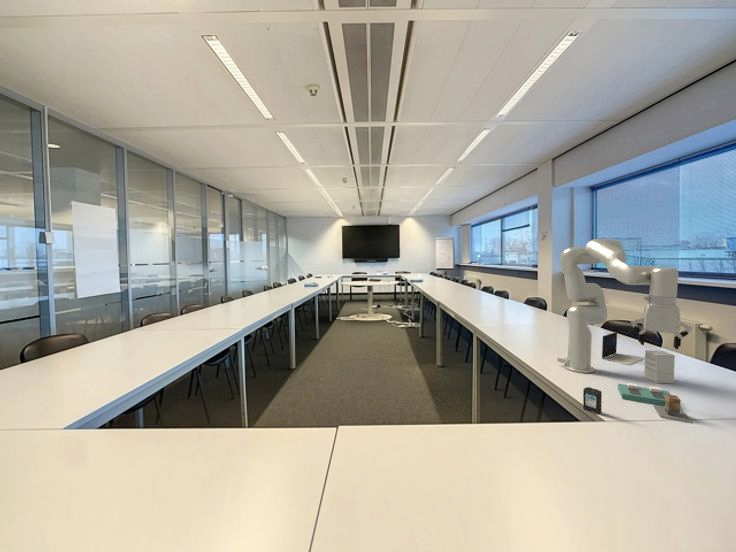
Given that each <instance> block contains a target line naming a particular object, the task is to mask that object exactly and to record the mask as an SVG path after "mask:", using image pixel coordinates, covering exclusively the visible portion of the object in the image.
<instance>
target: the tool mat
mask: <svg viewBox="0 0 736 552" xmlns="http://www.w3.org/2000/svg"><path fill="white" fill-rule="evenodd" d="M652 405H653V408H654V410H655V411H656V412H657V414H658V416H659V418H662V419H667V420H672V419H673V421H678V420H679V422H683V421H685V423H689V422H691V423H690V424H693V421H692V420H691V419H690V418H689V416H688V415H687V414H686V413H685V411H684V410H683V409H680V417H676V416H670V415H668V414H667V413H666V411H665V406H662V405H656V404H652Z"/></svg>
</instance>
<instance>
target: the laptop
mask: <svg viewBox="0 0 736 552" xmlns="http://www.w3.org/2000/svg"><path fill="white" fill-rule="evenodd" d="M617 344H618V332H617V331H615V332H612V333H608V334H605V335H603V336H602V343H601V345H602V346H601V359H602V360H604V359H605V360H604V361H609V360H610V362H612V361H613V362H615V363H618V364H622V365H626V366H627V365H628V366H631V365H633V364H634V363H637V362H639V361H641V360H643V358H641V357H637V356H631V355H627V354H623V353H617ZM610 355H611V356H610ZM625 355H626V356H625Z"/></svg>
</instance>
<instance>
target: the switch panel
mask: <svg viewBox="0 0 736 552" xmlns="http://www.w3.org/2000/svg"><path fill="white" fill-rule="evenodd" d="M617 390H618V392H619V395H620V398H621V399H622V400H627V401H633V402H639V403H645V404H652V405H657V406H663V407H665V399H666V394H669V395H672V394H671V393H670V391H669V390H664V389H663V390H662V389H661V393H658V392H652V391H650V387H643V386H638V389H633V388H628V384H624V383H623V384H622V383H617Z"/></svg>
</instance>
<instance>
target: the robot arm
mask: <svg viewBox="0 0 736 552" xmlns="http://www.w3.org/2000/svg"><path fill="white" fill-rule="evenodd" d="M626 260H627V253H626V251H624V250H623V244H622V243H621V242H620V241H619V240H617V239H615V238H594V239H591V240H589V241H587V243H586V245H585V246H575V247H568V248H566V249H564V250H563V251H562V252H561V254H560V257H559V265H560V268H561V271H562V273H563V277H564V283H565V291H566V295H567V299H568V300H569V301H570V302H572V303H587V304H577V305H575V304H574V305H572V306H570V307H569V308H568V309H567V311H566V319H567V325H568V348H567V357H564V358H561V357H557V359H556V361H557V362H560V363H559V364H564V365H563V367H564V368H565V369H566V370H568V371H571V372H575V373H582V374H590V373H594V372H595V368H594V366H591V365H592V359H591V358H592V335H593V334H592V332H591V330H590V328H589V326H590V325H601V324H604V323H606V321H607V319H608V309H607V305H606V299H605V293H604V290H603V288H602V287H601V286H600V285H599V284H597V283H594V282H586V277H585V274H584V272H583V270H582V269H581V267H580V266H579V265H598V264H603V265H605V266H606V268H607V272H608V273H609V276H611V277H612V278H614V279H616V280H617V281H618V282H620V283H622V284H624V285H627V286H649V291H648V292H649V294H648V296H644V297H643V300H644V301H647V302H646V304H645V306H644V310H643V315H642V317H640V318H638V319H633V320H631V321H630V324H631V326H632V328H633V329H634V330H635V331H636V332H637V333H638V338H637V339H638V343H640V345H641V346H644V345H645V338H646V337H645V336H646V335H645V333H647V331H649V332H655V333H656V332H657V333H666V334H667V333H668V334H674V335H675V336H673V346H672V347H673V348H674V349H675V350H679V347H681V344H682V339H683V338H684V337H687V336H688V335H689V333H691V331H692V330H693V327H692V326H690V325H689V324H686V323H684V322H682V321H681V312H680V305H677V295H678V283H679V270H678V268H676V267H667V266H666V267H664V266H663V267H662V266H661V267H660V266H656V265H630V264H628V263H626ZM637 324H641V325H642V327H638V325H637ZM681 327H682V328H684V330H682V331H681V332H680V330H681Z"/></svg>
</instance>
